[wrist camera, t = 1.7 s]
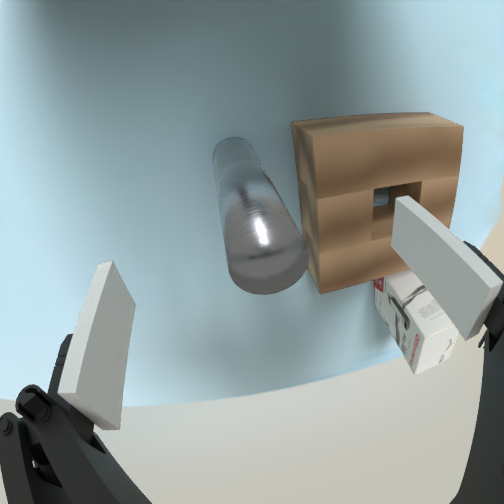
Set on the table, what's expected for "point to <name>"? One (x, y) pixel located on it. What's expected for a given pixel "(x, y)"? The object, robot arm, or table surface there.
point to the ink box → (415, 320)
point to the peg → (256, 223)
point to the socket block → (369, 188)
